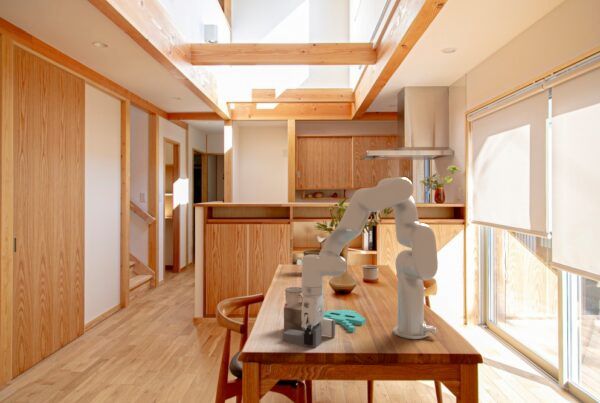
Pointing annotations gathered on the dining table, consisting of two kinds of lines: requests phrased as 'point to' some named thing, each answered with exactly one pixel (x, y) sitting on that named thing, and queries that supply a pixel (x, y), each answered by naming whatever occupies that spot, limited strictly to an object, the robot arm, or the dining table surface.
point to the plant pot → (311, 252)
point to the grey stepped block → (298, 336)
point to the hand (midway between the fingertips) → (312, 341)
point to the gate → (328, 327)
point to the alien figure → (346, 318)
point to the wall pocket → (292, 317)
